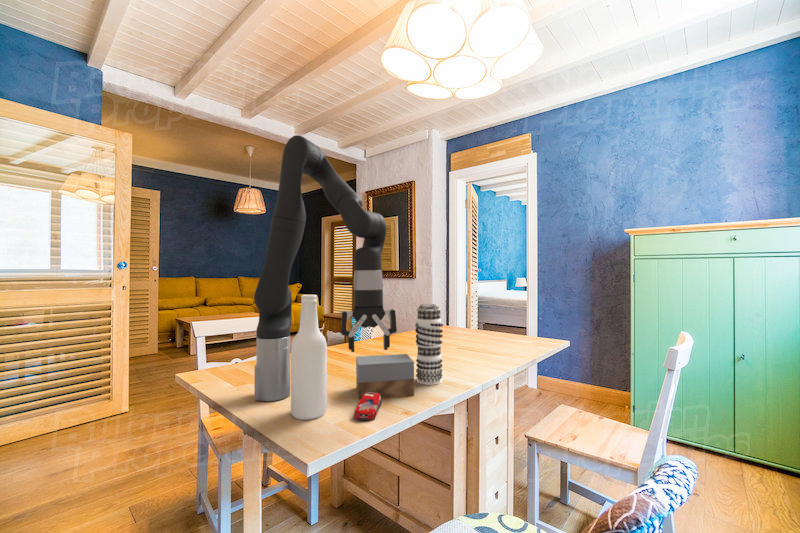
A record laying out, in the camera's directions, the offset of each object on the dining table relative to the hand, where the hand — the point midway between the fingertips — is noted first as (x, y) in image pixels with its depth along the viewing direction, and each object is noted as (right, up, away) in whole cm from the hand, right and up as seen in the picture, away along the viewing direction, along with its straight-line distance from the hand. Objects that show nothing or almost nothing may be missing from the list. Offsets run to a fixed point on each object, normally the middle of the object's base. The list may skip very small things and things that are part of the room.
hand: (369, 350), depth 91 cm
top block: (+3, -11, +14) cm, 18 cm away
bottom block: (+3, -16, +14) cm, 22 cm away
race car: (0, -16, 0) cm, 16 cm away
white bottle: (-15, -16, -2) cm, 22 cm away
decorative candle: (+18, -16, +24) cm, 34 cm away
